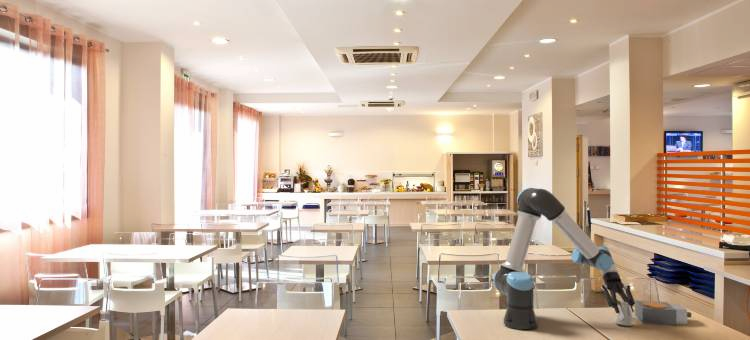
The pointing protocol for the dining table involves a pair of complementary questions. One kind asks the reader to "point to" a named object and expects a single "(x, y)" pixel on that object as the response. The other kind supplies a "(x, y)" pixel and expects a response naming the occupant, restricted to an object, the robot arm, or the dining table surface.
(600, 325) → the dining table surface
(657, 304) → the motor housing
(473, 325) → the dining table surface
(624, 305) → the flask
